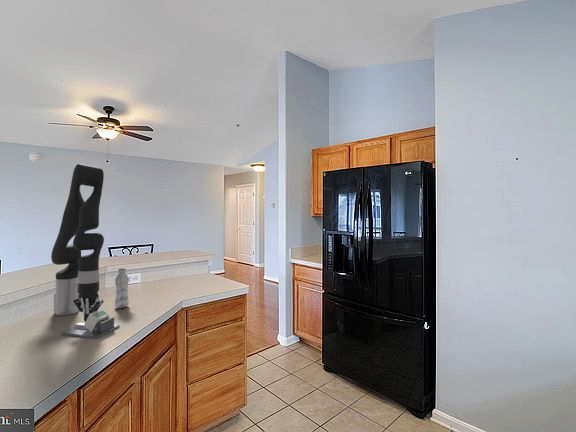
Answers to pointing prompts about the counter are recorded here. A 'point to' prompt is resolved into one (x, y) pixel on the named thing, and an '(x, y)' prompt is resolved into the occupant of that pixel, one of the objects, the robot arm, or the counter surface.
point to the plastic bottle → (121, 289)
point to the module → (95, 319)
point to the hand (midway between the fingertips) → (88, 321)
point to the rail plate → (99, 331)
